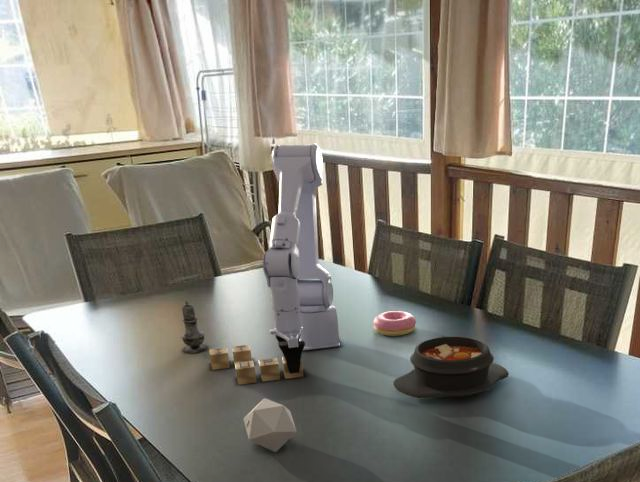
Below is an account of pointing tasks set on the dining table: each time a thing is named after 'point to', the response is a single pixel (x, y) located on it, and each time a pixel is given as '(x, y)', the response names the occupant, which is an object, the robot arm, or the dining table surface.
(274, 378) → the tile
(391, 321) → the doughnut
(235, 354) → the tile
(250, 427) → the die
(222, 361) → the tile
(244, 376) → the tile
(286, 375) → the tile
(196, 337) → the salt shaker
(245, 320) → the dining table surface
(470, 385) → the casserole
